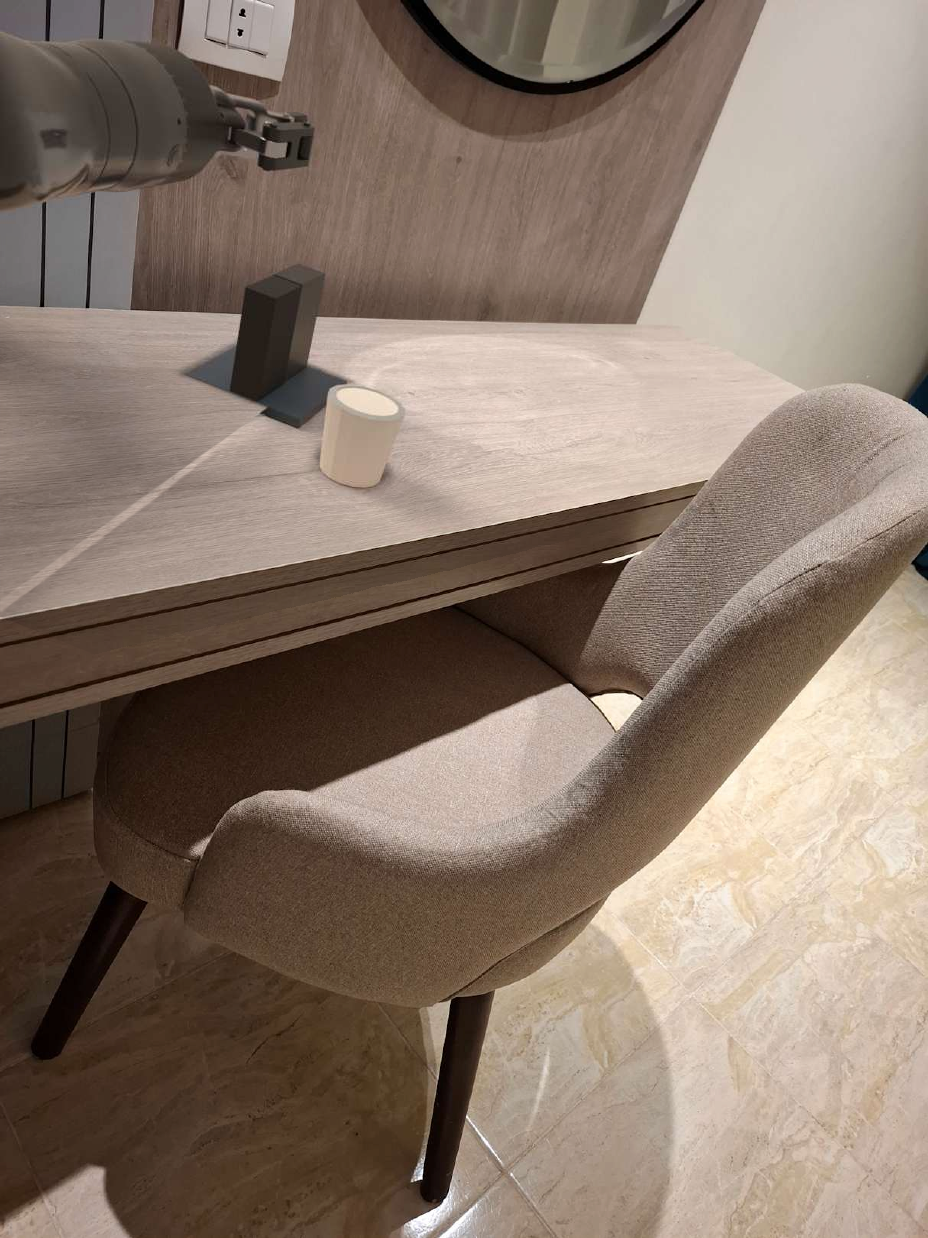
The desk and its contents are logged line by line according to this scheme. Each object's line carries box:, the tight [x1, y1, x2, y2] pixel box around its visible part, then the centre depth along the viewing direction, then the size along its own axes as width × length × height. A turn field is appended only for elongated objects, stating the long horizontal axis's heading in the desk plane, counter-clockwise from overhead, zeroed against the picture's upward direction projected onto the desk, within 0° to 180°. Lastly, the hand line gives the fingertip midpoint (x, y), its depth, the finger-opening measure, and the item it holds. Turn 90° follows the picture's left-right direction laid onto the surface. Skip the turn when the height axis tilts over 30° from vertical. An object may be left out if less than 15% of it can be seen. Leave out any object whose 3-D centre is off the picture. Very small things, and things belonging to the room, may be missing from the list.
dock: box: [184, 262, 348, 428], centre depth 89 cm, size 12×13×11 cm
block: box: [230, 274, 302, 401], centre depth 86 cm, size 3×6×10 cm, turn 165°
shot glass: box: [319, 383, 406, 489], centre depth 80 cm, size 7×7×7 cm
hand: (247, 109), depth 66 cm, fingers open, 8 cm apart
